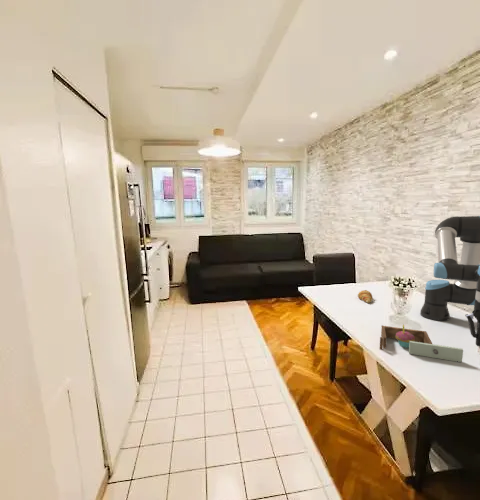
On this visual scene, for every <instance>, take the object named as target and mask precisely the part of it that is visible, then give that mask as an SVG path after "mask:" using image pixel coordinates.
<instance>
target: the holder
mask: <svg viewBox="0 0 480 500" xmlns="http://www.w3.org/2000/svg"><path fill="white" fill-rule="evenodd" d="M399 331H403V327H398V326H397V327H396V326H395V327H394V326H387V325H381V331H380V337H379V350H383V349H384V350H385V349H387V338H388V339H395V340H397V339H396V333H397V332H399ZM404 331H406V332H409V333H411V334H412V335H414V337H415V341H414V342H421V343H427V344H433V342H432V341H431V338H430V335H429V334H428V332H427V331H425V330H419V329H412V328H411V329H410V328H404Z"/></svg>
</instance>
